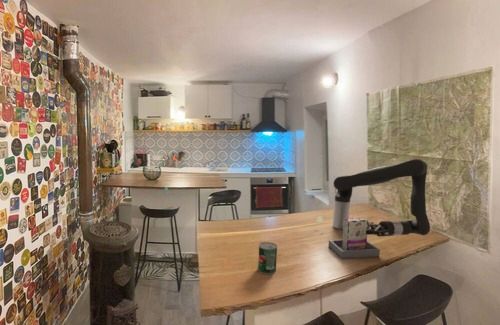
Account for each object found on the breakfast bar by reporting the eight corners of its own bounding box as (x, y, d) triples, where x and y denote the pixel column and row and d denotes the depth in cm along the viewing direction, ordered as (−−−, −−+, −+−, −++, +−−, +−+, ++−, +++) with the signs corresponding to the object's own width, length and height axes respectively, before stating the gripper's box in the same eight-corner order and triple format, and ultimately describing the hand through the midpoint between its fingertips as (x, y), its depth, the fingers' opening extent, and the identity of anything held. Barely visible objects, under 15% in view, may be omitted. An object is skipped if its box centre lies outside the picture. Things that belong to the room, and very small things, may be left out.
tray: (328, 247, 156) (329, 240, 156) (363, 246, 160) (364, 238, 159) (341, 259, 143) (341, 251, 142) (379, 257, 146) (379, 249, 146)
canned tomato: (254, 269, 130) (255, 245, 129) (266, 263, 135) (267, 240, 134) (267, 276, 124) (268, 250, 123) (279, 270, 130) (281, 246, 128)
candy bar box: (360, 247, 155) (362, 217, 153) (366, 251, 150) (368, 220, 148) (341, 249, 152) (343, 218, 150) (346, 253, 147) (348, 221, 145)
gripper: (382, 217, 160) (355, 217, 157) (400, 225, 146) (370, 226, 143) (381, 230, 161) (353, 231, 158) (399, 240, 147) (369, 241, 144)
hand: (361, 229), depth 150 cm, fingers open, 8 cm apart
